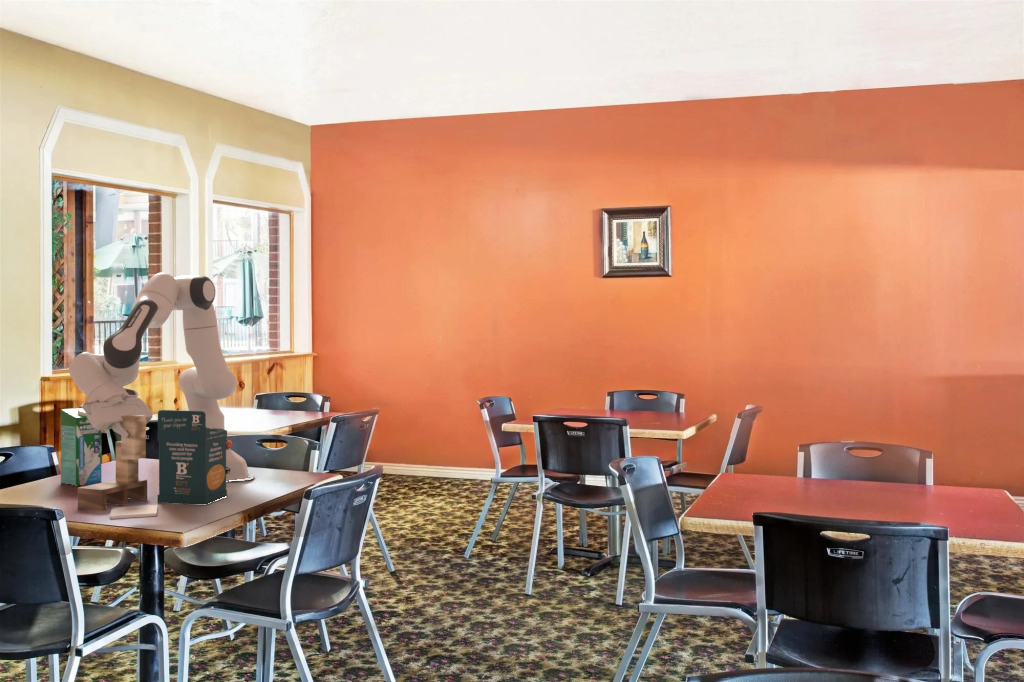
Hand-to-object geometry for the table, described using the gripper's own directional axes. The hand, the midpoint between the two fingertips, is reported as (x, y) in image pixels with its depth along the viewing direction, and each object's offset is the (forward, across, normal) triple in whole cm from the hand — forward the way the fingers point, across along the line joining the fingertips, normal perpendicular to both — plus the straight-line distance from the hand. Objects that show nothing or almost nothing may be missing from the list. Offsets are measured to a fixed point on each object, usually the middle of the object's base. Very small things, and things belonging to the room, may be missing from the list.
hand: (135, 435), depth 250 cm
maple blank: (+4, 0, +5) cm, 6 cm away
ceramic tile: (+15, 0, +16) cm, 22 cm away
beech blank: (0, +14, +22) cm, 26 cm away
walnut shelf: (+4, +8, +27) cm, 28 cm away
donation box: (+17, +23, +14) cm, 32 cm away
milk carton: (-21, +32, +52) cm, 65 cm away
